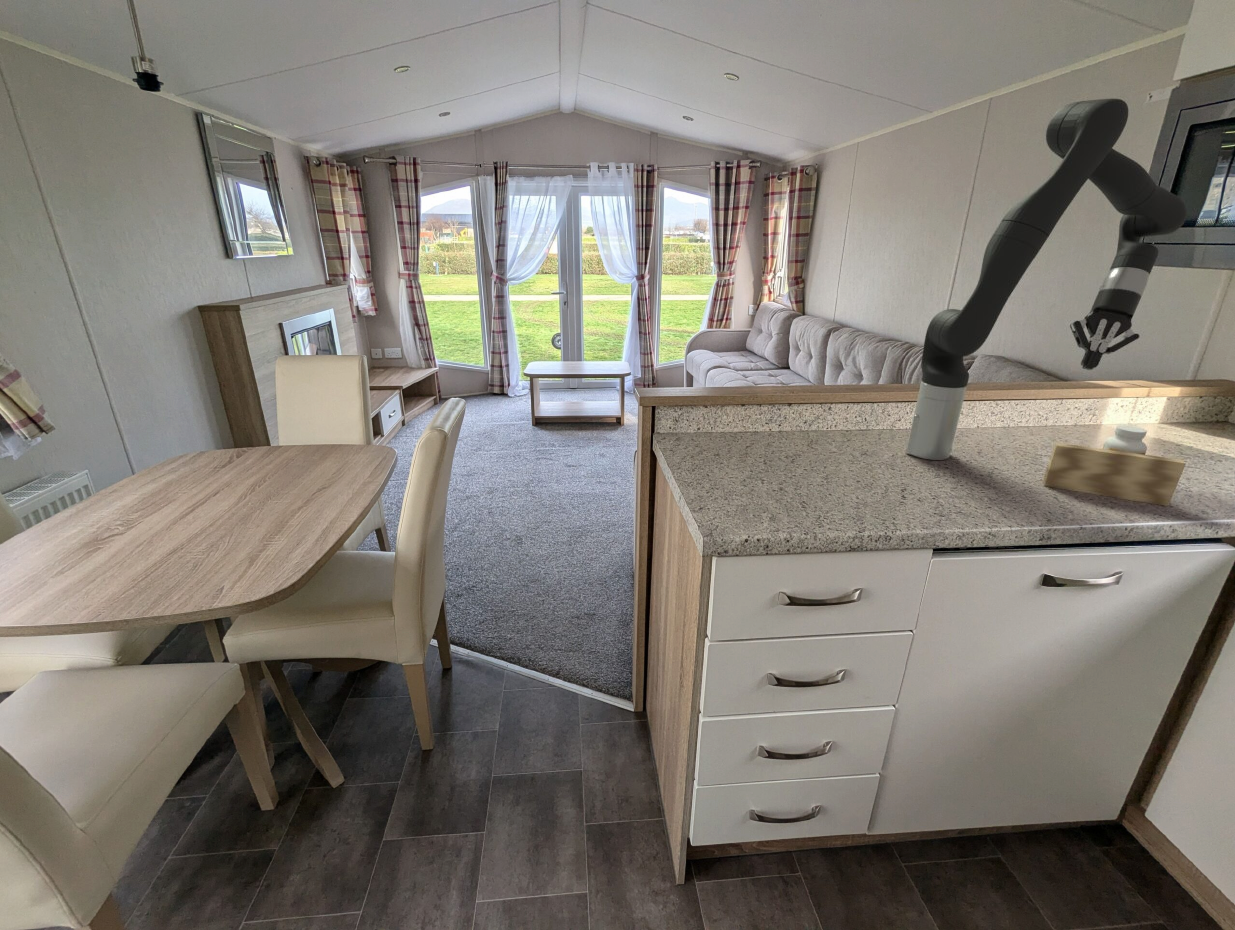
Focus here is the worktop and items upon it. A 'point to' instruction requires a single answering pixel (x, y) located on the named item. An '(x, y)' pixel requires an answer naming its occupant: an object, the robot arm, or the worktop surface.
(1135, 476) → the wall board
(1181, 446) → the worktop surface
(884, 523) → the worktop surface
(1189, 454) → the worktop surface
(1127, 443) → the supplement bottle
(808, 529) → the worktop surface
